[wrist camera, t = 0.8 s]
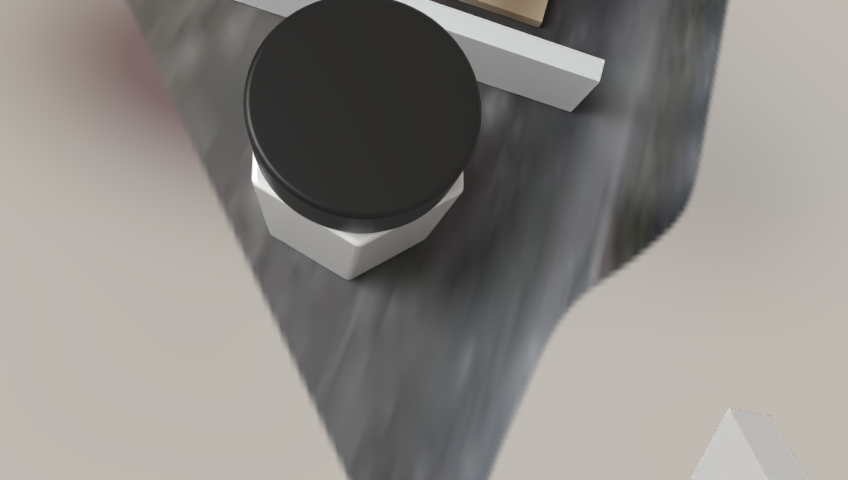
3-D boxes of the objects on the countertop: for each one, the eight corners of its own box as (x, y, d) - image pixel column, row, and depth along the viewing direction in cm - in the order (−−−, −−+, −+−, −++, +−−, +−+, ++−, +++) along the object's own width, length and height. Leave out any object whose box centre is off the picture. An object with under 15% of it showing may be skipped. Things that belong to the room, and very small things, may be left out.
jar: (465, 172, 36) (534, 75, 25) (385, 306, 34) (420, 271, 23) (317, 82, 36) (316, -59, 24) (228, 213, 34) (181, 127, 22)
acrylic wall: (210, -8, 36) (197, -55, 32) (218, -28, 36) (206, -76, 32) (570, 112, 38) (599, 81, 34) (575, 92, 38) (604, 60, 34)
